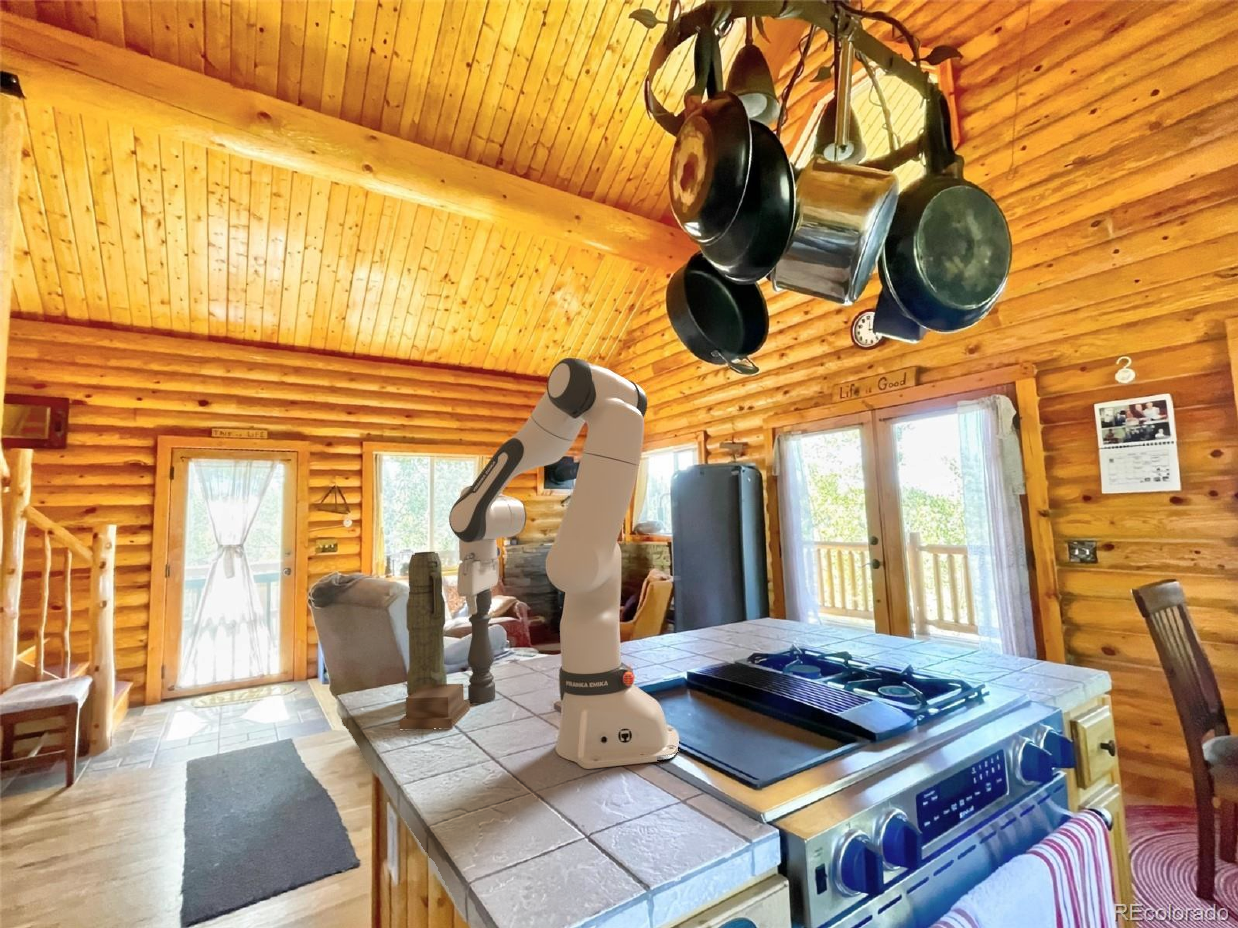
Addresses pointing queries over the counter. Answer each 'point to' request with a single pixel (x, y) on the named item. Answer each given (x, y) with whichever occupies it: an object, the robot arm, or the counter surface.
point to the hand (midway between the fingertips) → (479, 610)
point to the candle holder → (481, 653)
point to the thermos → (425, 622)
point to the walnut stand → (435, 707)
